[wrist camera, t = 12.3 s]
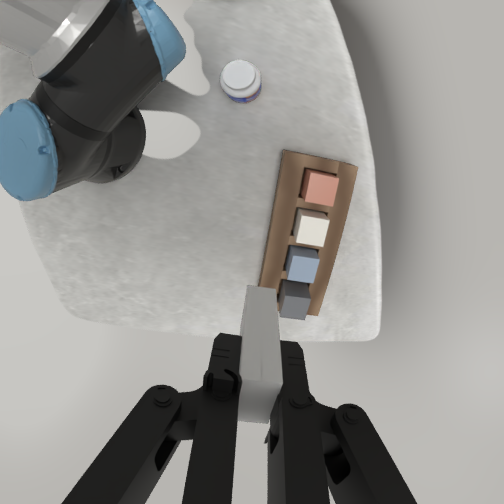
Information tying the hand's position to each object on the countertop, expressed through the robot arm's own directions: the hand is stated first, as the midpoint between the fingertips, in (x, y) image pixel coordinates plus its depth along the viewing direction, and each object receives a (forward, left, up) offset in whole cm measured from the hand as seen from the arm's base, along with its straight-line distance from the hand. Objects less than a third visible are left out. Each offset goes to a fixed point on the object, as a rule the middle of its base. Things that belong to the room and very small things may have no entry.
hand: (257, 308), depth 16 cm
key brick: (+8, +3, -30) cm, 31 cm away
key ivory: (+8, -3, -30) cm, 31 cm away
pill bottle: (-5, +16, -33) cm, 37 cm away
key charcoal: (+8, -15, -29) cm, 33 cm away
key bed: (+8, -6, -32) cm, 34 cm away
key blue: (+8, -9, -30) cm, 32 cm away
